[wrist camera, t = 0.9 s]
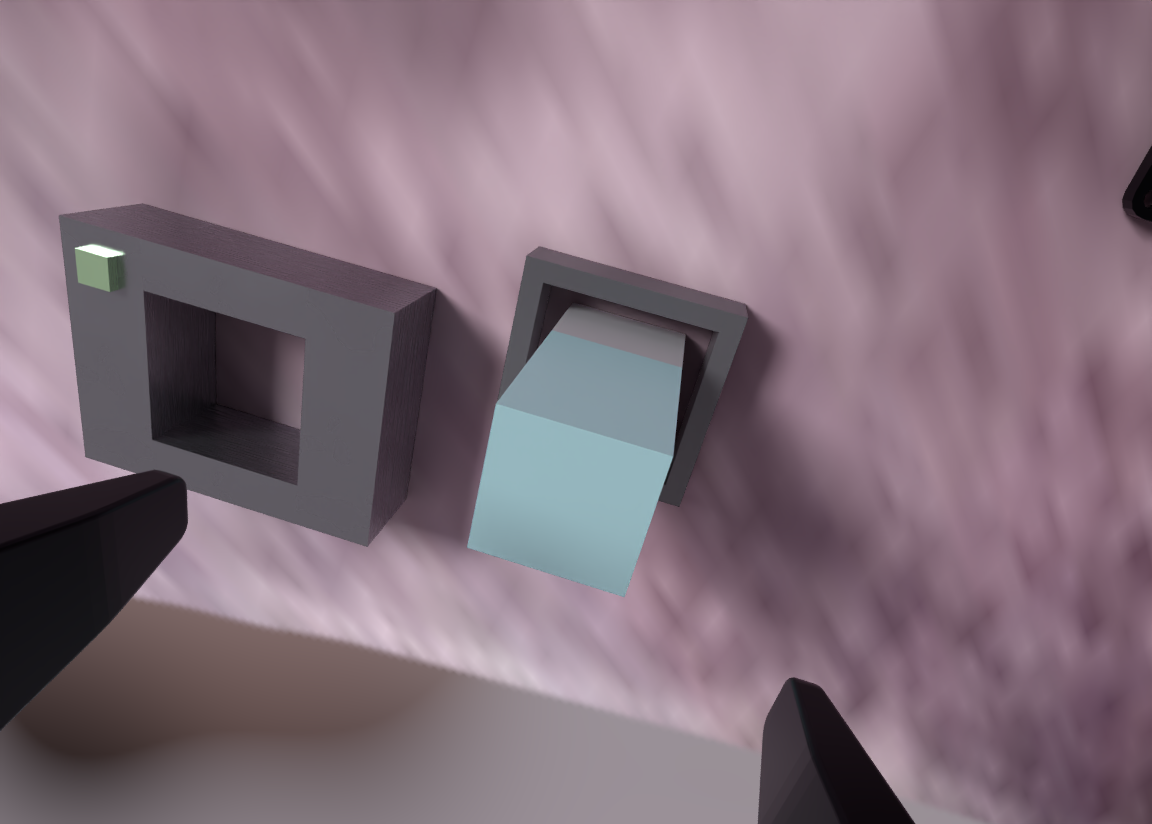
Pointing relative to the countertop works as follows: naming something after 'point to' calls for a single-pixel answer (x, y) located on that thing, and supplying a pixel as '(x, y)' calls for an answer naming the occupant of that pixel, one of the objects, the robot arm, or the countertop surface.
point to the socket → (188, 379)
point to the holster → (645, 296)
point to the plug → (582, 449)
